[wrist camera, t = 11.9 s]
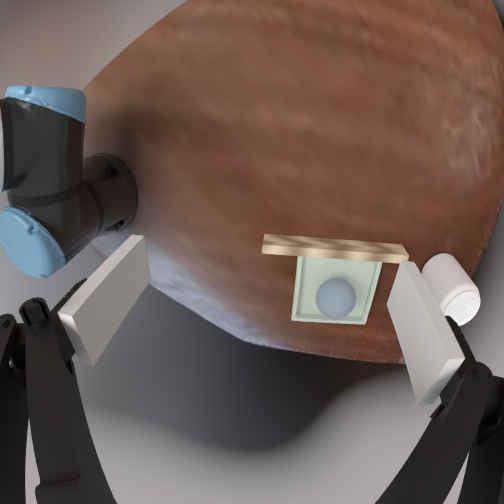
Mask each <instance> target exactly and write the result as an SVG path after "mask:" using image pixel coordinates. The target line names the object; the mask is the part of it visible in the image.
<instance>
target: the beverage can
mask: <svg viewBox="0 0 504 504" xmlns="http://www.w3.org/2000/svg"><path fill="white" fill-rule="evenodd" d="M421 275H422V276H423V278H424V280H425V282H426V283H427V285H428V287H429V288H430V290H431V292H432V294H433V296H434V297H435V299H436V301H437V303H438V305H439V306H440V308H441V310H442V312H443V314H444V316H450V317H451V318H452V319H453V320H454V321H455V322H456V323H457V324H458V326H460V325H463V324H465V323H467V322H468V321H470V320H471V319H472V318H473V317H474V316H475V314H476V313H477V311H478V309H479V307H480V296H479V291H478V289H477V287H476V286H475V285H474V283H473V282H472V280H471V279H470V278H469V276H468V275H467V274H466V272H465V271H464V270H463V268H462V267H461V266H460V264H459V263H458V262H457V261H456V259H455V258H454V257H453V256H452V255H450V254H446V253H442V254H438V255H436V256H434V257H432V258H431V259H430V260H429V261H428V262H427V263H426V264H425V266H424V267H423V270H422V273H421Z"/></svg>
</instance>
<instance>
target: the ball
mask: <svg viewBox="0 0 504 504" xmlns="http://www.w3.org/2000/svg"><path fill="white" fill-rule="evenodd" d="M355 303H356V293H355V290H354V288H353V286H352V285H351V284H350V283H349V282H348V281H346V280H344V279H340V278H333V279H329V280H327V281H325V282H324V283H323V284H322V285H321V286H320V287H319V289H318V291H317V294H316V304H317V307H318V309H319V311H320V312H321V313H322V314H323V315H324V316H326V317H328V318H331V319H340V318H343V317H345V316H347V315H348V314H349V313H350V312H351V311H352V310H353V308H354V306H355Z"/></svg>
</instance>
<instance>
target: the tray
mask: <svg viewBox="0 0 504 504" xmlns="http://www.w3.org/2000/svg"><path fill="white" fill-rule="evenodd" d="M381 266H382V262H374V261H360V260H346V259H333V258H319V257H305V256H298V258H297V269H296V279H295V289H294V298H293V307H292V319H291V320H292V321H307V322H323V323H343V324H366V320H367V317H368V314H369V310H370V307H371V304H372V300H373V296H374V293H375V289H376V285H377V282H378V278H379V274H380V270H381ZM333 278H340V279H344V280H346V281H348V282H349V283H350V284H351V285H352V286H353V288H354V290H355V293H356V303H355V306H354V308H353V310H352V311H351V312H350V313H349V314H348V315H347V316H345V317H343V318H340V319H331V318H328V317H326V316H324V315H323V314H322V313H321V312H320V311H319V309H318V307H317V304H316V294H317V291H318V289H319V287H320V286H321V285H322V284H323V283H324V282H325V281H327V280H329V279H333Z"/></svg>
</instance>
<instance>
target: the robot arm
mask: <svg viewBox="0 0 504 504" xmlns="http://www.w3.org/2000/svg"><path fill="white" fill-rule="evenodd" d="M5 97H6V98H5V99H0V192H3V191H6V190H7V195H8V206H7V207H5V208H4V209H2V211H1V212H0V242H1V245H2V247H3V249H4V250H5V252H6V254H7V255H8V257H9V258H10V259H11V261H12V262H13V263H14V264H15V265H16V266H17V267H18V268H19V269H20V270H21V271H22V272H24V273H25V274H27V275H28V276H30V277H33V278H36V279H45V278H48V277H49V276H51V275H52V274H54V273H55V272H56V271H57V270H59V269H62V268H63V267H64V266H65V265H66V264H67V263H68V262H69V261H70V260H71V259H72V258H73V257H74V256H75V255H76V254H77V253H79V252H80V251H81V250H82V249H83V248H84V247H85V246H86V245H87V244H89V243H90V242H91V241H92V240H93V239H94V238H96V237H99V236H103V235H107V234H111V233H114V232H117V231H119V230H120V229H122V228H123V227H124V226H125V225H126V224H127V223H129V221H130V220H131V219H132V217H133V216H134V214H135V211H136V208H137V201H138V195H137V188H136V184H135V181H134V179H133V176H132V174H131V173H130V171H129V170H128V168H127V167H126V166H125V165H124V164H123V163H122V162H121V161H120V160H119V159H117V158H115V157H114V156H111V155H108V154H94V155H92V156H89V157H86V158H84V159H83V145H84V131H85V124H86V120H85V113H86V97H85V95H84V93H83V92H82V91H80V90H78V89H72V88H63V87H47V86H11V87H9V88H8V89H7V92H6V94H5ZM150 281H151V278H150V272H149V266H148V259H147V252H146V245H145V237H144V236H140V235H131V236H130V237H129V238H128V239H127V240H126V241H125V242H124V243H123V244H122V245H121V246H120V247H119V248H118V249H117V250H116V251H115V252H114V253H113V254H112V255H111V256H110V257H109V258H108V259H107V260H106V261H105V262H104V263H103V264H102V265H101V266H100V267H99V268H98V269H97V270H96V271H95V272H94V273H93V274H92V275H91V276H90V277H89V278H88V279H86V278H85V279H83V280H82V281H80V282H78V283H77V284H75V286H74V287H73V288H72V289H71V290H70V292H68V293H67V294H66V295H65V297H63V298H62V299H61V300H60V302H59V303H58V304H57V305H56V306H55V307H54V308H53V309H52V310H51V312H50V311H49V309H48V306H47V303H46V301H45V300H44V299H43V298H39V297H37V298H32V299H30V300H27V301H26V302H24V303H23V304H22V306H21V307H20V309H19V313H20V315H21V317H22V319H23V322H24V323H23V324H22V323H17V322H16V320H15V317H14V316H13V315H12V314H4V315H1V316H0V504H26V498H25V460H26V441H27V430H28V420H30V427H31V435H32V441H33V447H34V452H35V458H36V463H37V468H38V472H39V476H40V484H39V485H38V486H37V487H36V489H35V495H36V500H37V504H117V502H116V501H115V499H114V497H113V495H112V492H111V490H110V487H109V485H108V483H107V480H106V477H105V475H104V472H103V470H102V467H101V464H100V462H99V458H98V456H97V453H96V450H95V447H94V444H93V440H92V437H91V434H90V431H89V427H88V424H87V420H86V416H85V413H84V409H83V405H82V401H81V397H80V393H79V388H78V383H77V379H76V373H75V368H74V363H73V361H72V359H71V358H72V356H73V355H74V353H76V355H77V357H78V359H79V361H80V362H82V363H85V364H88V365H91V366H94V365H95V363H96V362H97V360H98V358H99V357H100V355H101V354H102V352H103V350H104V349H105V347H106V346H107V344H108V343H109V341H110V339H111V338H112V337H113V335H114V333H115V332H116V330H117V329H118V327H119V326H120V324H121V323H122V321H123V320H124V318H125V317H126V315H127V314H128V312H129V311H130V309H131V308H132V306H133V305H134V303H135V302H136V301H137V299H138V298H139V296H140V295H141V293H142V292H143V290H144V289H145V288H146V286H147V285H148V283H149V282H150ZM387 307H388V310H389V313H390V315H391V318H392V321H393V324H394V327H395V330H396V333H397V336H398V339H399V342H400V346H401V349H402V352H403V355H404V359H405V362H406V365H407V369H408V372H409V376H410V379H411V383H412V386H413V390H414V394H415V398H416V402H417V405H425V404H433V403H434V401H435V400H436V399H437V397H438V396H439V395H440V398H441V401H442V403H441V404H440V405H439V406H438V408H437V409H436V410H435V411H434V412H433V413H432V415H431V416H430V417H431V418H432V419H431V421H430V423H429V425H428V426H427V428H426V430H425V432H424V433H423V435H422V437H421V438H420V440H419V442H418V443H417V445H416V447H415V448H414V450H413V451H412V453H411V455H410V456H409V458H408V459H407V461H406V462H405V464H404V465H403V467H402V468H401V469H400V471H399V472H398V474H397V475H396V477H395V478H394V479H393V481H392V482H391V484H390V485H389V486H388V487H387V489H386V490H385V492H384V493H383V494H382V495H381V496H380V498H379V499H378V500H377V501H376V503H375V504H443V502H444V501H445V499H446V497H447V495H448V494H449V492H450V490H451V488H452V486H453V484H454V482H455V480H456V478H457V476H458V474H459V472H460V470H461V468H462V466H463V463H464V461H465V459H466V457H467V454H468V452H469V456H468V461H467V467H466V471H465V475H464V480H463V484H462V488H461V492H460V495H459V499H458V502H457V504H504V378H502V377H497V376H493V375H492V372H491V370H490V369H489V368H488V367H487V366H486V365H485V364H483V363H481V362H476V360H475V358H474V356H473V354H472V352H471V349H470V347H469V345H468V343H467V341H466V340H465V337H464V335H463V333H461V330H460V328H459V326H458V324H457V323H456V322H455V321H454V320H453V319H452V318H451V317H450V316H444V314H443V312H442V310H441V308H440V306H439V305H438V303H437V301H436V299H435V297H434V296H433V294H432V292H431V290H430V288H429V287H428V285H427V283H426V282H425V280H424V278H423V276H422V275H421V273H420V271H419V270H418V268H417V266H416V265H415V263H414V262H408V261H401V262H400V266H399V269H398V272H397V275H396V278H395V281H394V284H393V287H392V290H391V293H390V296H389V299H388V302H387ZM10 361H11V364H10V366H9V362H10ZM469 450H470V451H469Z"/></svg>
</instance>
